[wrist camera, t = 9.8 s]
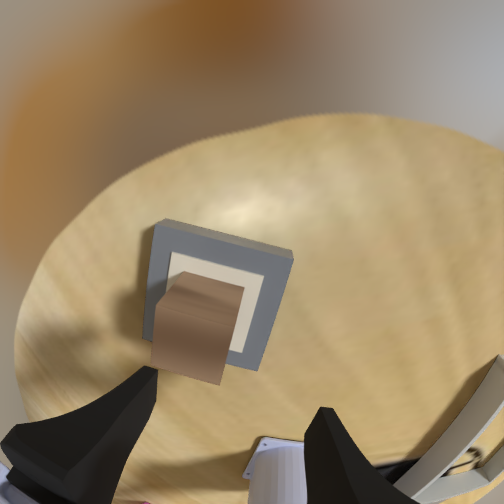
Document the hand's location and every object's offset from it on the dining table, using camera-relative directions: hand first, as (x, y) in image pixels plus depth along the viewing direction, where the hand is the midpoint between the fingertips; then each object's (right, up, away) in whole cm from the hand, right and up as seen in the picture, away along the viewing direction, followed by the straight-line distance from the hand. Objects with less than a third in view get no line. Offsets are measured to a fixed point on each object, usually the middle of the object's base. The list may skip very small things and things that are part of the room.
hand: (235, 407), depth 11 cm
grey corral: (+36, -20, +14) cm, 43 cm away
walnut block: (-2, +3, +8) cm, 9 cm away
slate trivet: (-2, +4, +10) cm, 11 cm away
